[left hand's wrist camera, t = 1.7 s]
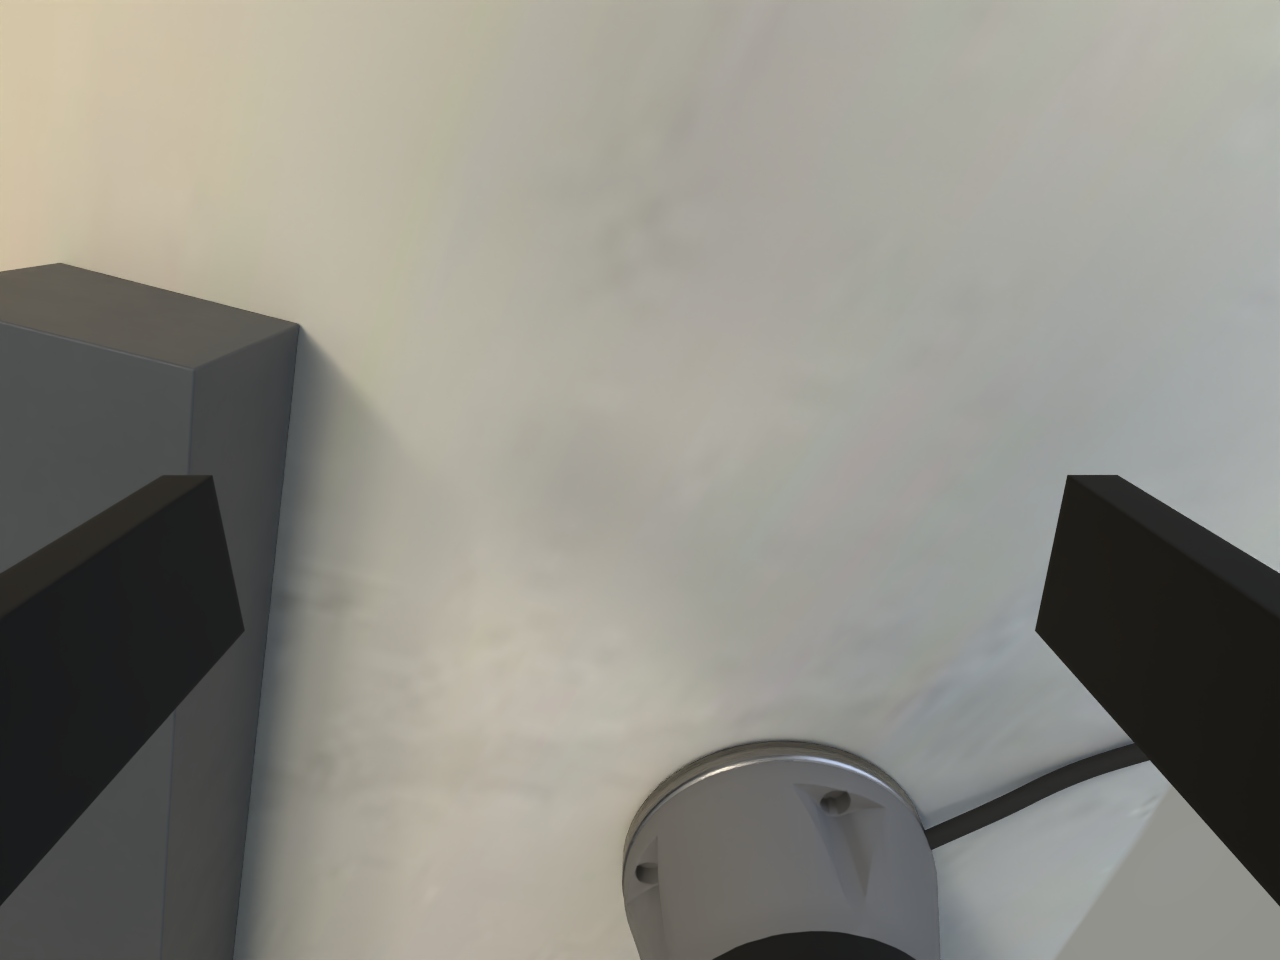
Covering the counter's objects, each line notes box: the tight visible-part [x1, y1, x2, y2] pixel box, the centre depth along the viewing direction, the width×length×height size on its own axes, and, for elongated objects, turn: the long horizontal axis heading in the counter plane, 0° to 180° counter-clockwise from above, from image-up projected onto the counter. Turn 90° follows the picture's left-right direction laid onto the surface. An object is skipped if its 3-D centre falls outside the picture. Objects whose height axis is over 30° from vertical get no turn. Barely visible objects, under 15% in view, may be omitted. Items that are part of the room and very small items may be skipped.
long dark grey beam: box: [0, 263, 299, 960], centre depth 35 cm, size 54×9×8 cm, turn 165°
